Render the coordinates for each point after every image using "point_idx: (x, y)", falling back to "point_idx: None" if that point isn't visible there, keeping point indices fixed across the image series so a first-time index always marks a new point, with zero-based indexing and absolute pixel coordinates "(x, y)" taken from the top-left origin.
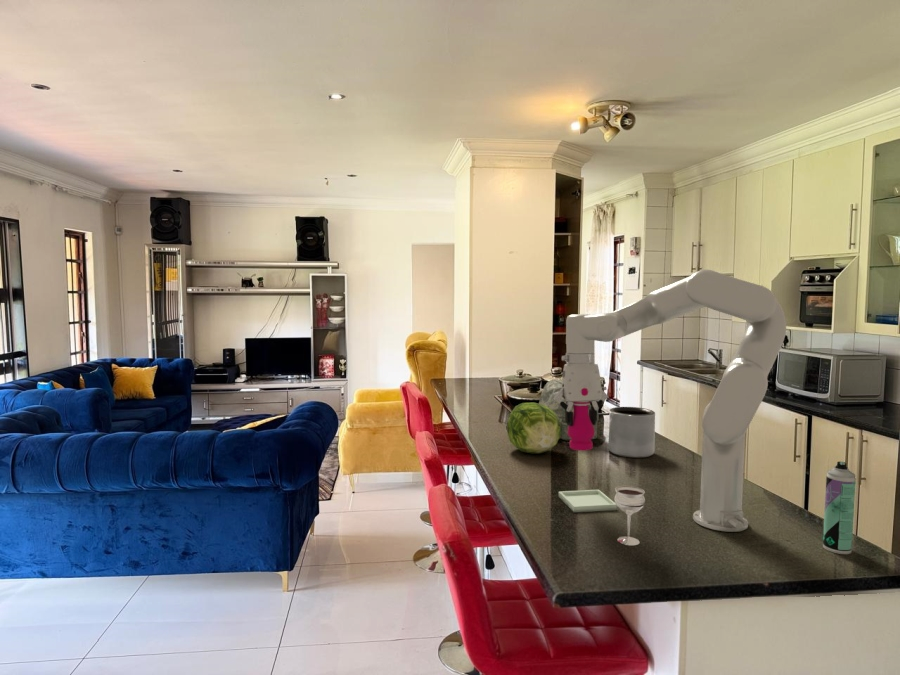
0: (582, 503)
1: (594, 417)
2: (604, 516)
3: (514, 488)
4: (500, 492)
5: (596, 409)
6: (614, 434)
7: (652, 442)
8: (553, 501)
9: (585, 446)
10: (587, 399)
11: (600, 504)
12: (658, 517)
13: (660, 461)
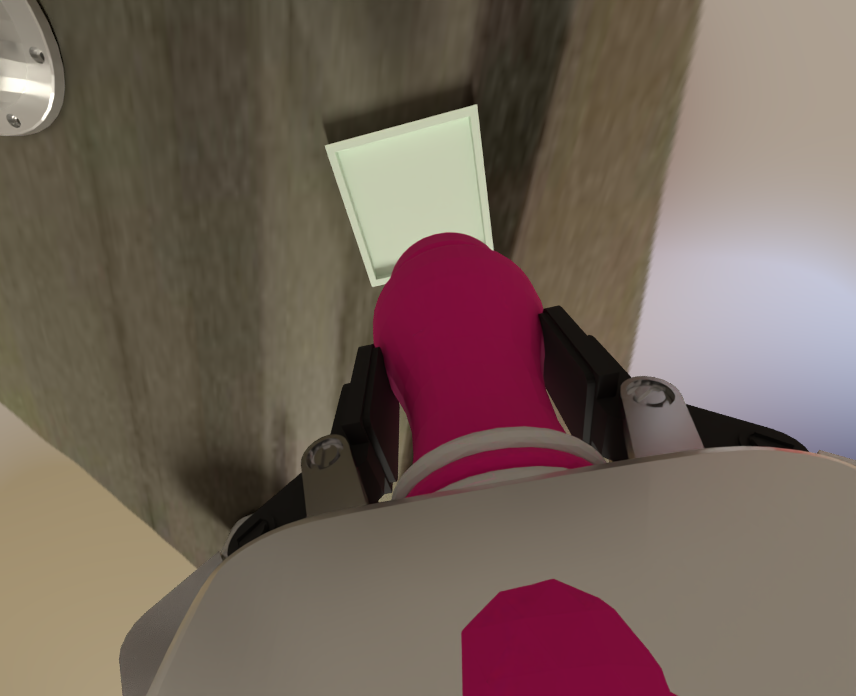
0: (435, 179)
1: (360, 378)
2: (376, 68)
3: (595, 311)
4: (646, 277)
5: (328, 446)
6: None
7: (222, 550)
8: (515, 213)
9: (436, 239)
10: (453, 507)
11: (381, 139)
12: (189, 74)
13: (218, 498)
